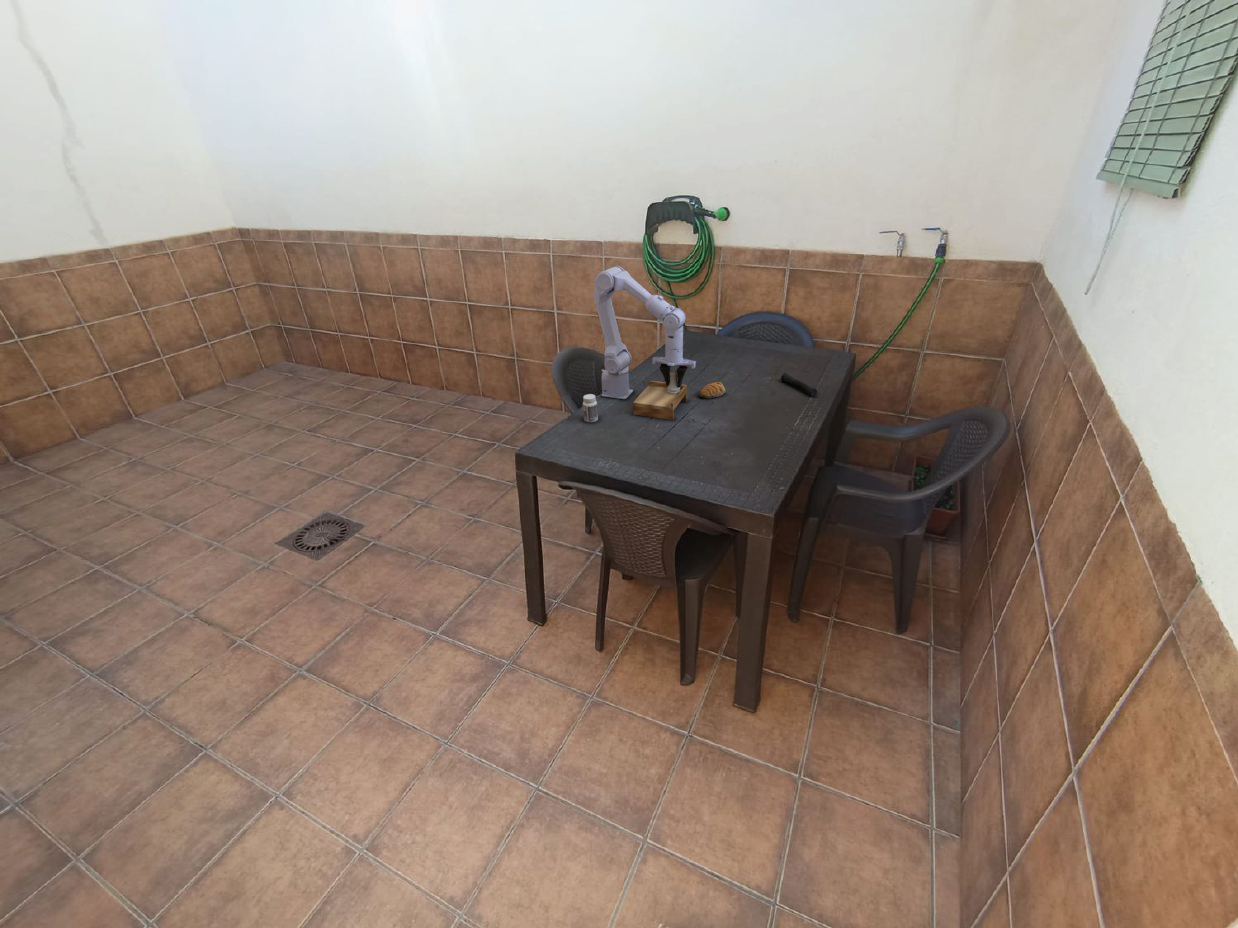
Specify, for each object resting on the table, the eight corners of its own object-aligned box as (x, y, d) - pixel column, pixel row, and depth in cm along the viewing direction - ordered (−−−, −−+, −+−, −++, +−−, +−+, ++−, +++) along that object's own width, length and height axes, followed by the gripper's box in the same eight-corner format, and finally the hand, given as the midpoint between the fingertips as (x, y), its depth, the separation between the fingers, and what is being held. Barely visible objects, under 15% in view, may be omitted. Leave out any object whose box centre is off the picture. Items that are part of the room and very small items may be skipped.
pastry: (708, 401, 195) (708, 391, 193) (694, 395, 200) (694, 385, 198) (726, 393, 200) (727, 383, 198) (712, 388, 205) (713, 378, 203)
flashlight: (787, 379, 209) (788, 372, 207) (817, 395, 196) (818, 387, 194) (780, 381, 208) (781, 373, 206) (810, 397, 195) (811, 389, 193)
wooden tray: (633, 414, 189) (632, 398, 186) (649, 395, 201) (649, 380, 198) (672, 420, 184) (673, 403, 181) (687, 400, 196) (687, 385, 193)
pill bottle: (600, 417, 188) (598, 394, 184) (595, 423, 184) (593, 400, 180) (587, 415, 189) (585, 392, 185) (581, 421, 186) (579, 398, 181)
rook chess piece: (681, 390, 193) (682, 368, 189) (677, 395, 190) (677, 373, 186) (669, 388, 195) (669, 366, 191) (665, 393, 192) (665, 371, 188)
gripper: (649, 349, 184) (649, 387, 191) (691, 353, 179) (690, 392, 186) (656, 342, 189) (656, 379, 196) (698, 346, 184) (696, 384, 191)
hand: (673, 385), depth 191 cm, fingers closed on rook chess piece, 3 cm apart
